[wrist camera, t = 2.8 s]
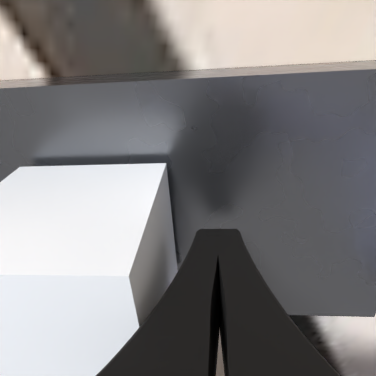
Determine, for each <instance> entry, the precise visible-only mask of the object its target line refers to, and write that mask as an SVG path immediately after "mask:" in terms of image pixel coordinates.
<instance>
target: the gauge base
mask: <svg viewBox="0 0 376 376" xmlns="http://www.w3.org/2000/svg"><path fill="white" fill-rule="evenodd" d="M150 163H166V165H167V174H168V184H169V194H170V203H171V213H172V222H173V232H174V241H175V251H176V260H177V270H179V268H180V267H181V265H182V263H183V261H184V259H185V257H186V255H187V253H188V251H189V249H190V247H191V245H192V243H193V240H194V237H195V234H196V232H197V231H198V230H199V229H238V230H239V231H240V233H241V236H242V239H243V241H244V244H245V246H246V248H247V250H248V252H249V254H250V256H251V258H252V260H253V262H254V264H255V265H256V267H257V269H258V270H259V272H260V274H261V275H262V277H263V279H264V280H265V282H266V284H267V285H268V287H269V288H270V290H271V291H272V293H273V294H274V296H275V297H276V299H277V300H278V301H279V303H280V304H281V306H282V307H283V308H284V310H285V311H286V313H287V314H288V315H315V316H360V317H374V316H375V313H376V60H373V61H355V62H336V63H318V64H299V65H281V66H262V67H244V68H225V69H207V70H188V71H169V72H151V73H132V74H114V75H95V76H77V77H58V78H40V79H21V80H3V81H0V182H1V181H2V180H4V179H5V178H6V177H8V176H9V175H10V174H11V173H13V172H14V171H15V170H16V169H18V168H19V167H30V166H70V165H110V164H150Z"/></svg>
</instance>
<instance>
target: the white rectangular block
mask: <svg viewBox="0 0 376 376" xmlns="http://www.w3.org/2000/svg"><path fill="white" fill-rule="evenodd" d="M177 272H178V270H177V260H176V251H175V241H174V232H173V222H172V213H171V203H170V194H169V184H168V174H167V165H166V163H150V164H110V165H70V166H30V167H19V168H18V169H16V170H15V171H14V172H13V173H11V174H10V175H9V176H8V177H6V178H5V179H4V180H2V181H1V182H0V376H96V375H97V374H98V373H99V372H100V371H101V370H102V369H103V368H104V367H105V366H106V365H107V364H108V363H109V362H110V360H111V359H112V358H113V357H114V356H115V355H116V354H117V353H118V352H119V351H120V349H121V348H122V347H123V346H124V345H125V344H126V342H127V341H128V340H129V339H130V338H131V337H132V336H133V334H134V333H135V332H136V331H137V330H138V328H139V327H140V326H141V325H142V323H143V322H144V321H145V319H146V318H147V317H148V316H149V314H150V313H151V312H152V310H153V309H154V307H155V306H156V305H157V303H158V302H159V300H160V299H161V297H162V296H163V294H164V293H165V291H166V290H167V288H168V287H169V285H170V284H171V282H172V280H173V279H174V277H175V275H176V274H177Z"/></svg>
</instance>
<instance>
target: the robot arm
mask: <svg viewBox="0 0 376 376" xmlns="http://www.w3.org/2000/svg"><path fill="white" fill-rule="evenodd" d="M219 327H220V335H221V345H222V354H223V364H224V373H225V376H341V375H340V374H339V373H338V372H337V371H336V370H335V369H334V368H333V367H332V366H331V365H330V364H329V363H328V362H327V361H326V360H325V359H324V357H323V356H322V355H321V354H320V353H319V352H318V351H317V349H316V348H315V347H314V346H313V345H312V344H311V342H310V341H309V340H308V339H307V338H306V337H305V335H304V334H303V333H302V332H301V330H300V329H299V328H298V327H297V325H296V324H295V323H294V322H293V320H292V319H291V318H290V317H289V315H288V314H287V313H286V311H285V310H284V308H283V307H282V306H281V304H280V303H279V301H278V300H277V299H276V297H275V296H274V294H273V293H272V291H271V290H270V288H269V287H268V285H267V284H266V282H265V280H264V279H263V277H262V275H261V274H260V272H259V270H258V269H257V267H256V265H255V264H254V262H253V260H252V258H251V256H250V254H249V252H248V250H247V248H246V246H245V244H244V241H243V239H242V236H241V233H240V231H239V230H238V229H199V230H198V231H197V232H196V234H195V237H194V240H193V243H192V245H191V247H190V249H189V251H188V253H187V255H186V257H185V259H184V261H183V263H182V265H181V267H180V268H179V270H178V272H177V274H176V275H175V277H174V279H173V280H172V282H171V284H170V285H169V287H168V288H167V290H166V291H165V293H164V294H163V296H162V297H161V299H160V300H159V302H158V303H157V305H156V306H155V307H154V309H153V310H152V312H151V313H150V314H149V316H148V317H147V318H146V319H145V321H144V322H143V323H142V325H141V326H140V327H139V328H138V330H137V331H136V332H135V333H134V334H133V336H132V337H131V338H130V339H129V340H128V341H127V342H126V344H125V345H124V346H123V347H122V348H121V349H120V351H119V352H118V353H117V354H116V355H115V356H114V357H113V358H112V359H111V360H110V362H109V363H108V364H107V365H106V366H105V367H104V368H103V369H102V370H101V371H100V372H99V373H98V374H97V375H96V376H216V364H217V352H218V340H219Z"/></svg>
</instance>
